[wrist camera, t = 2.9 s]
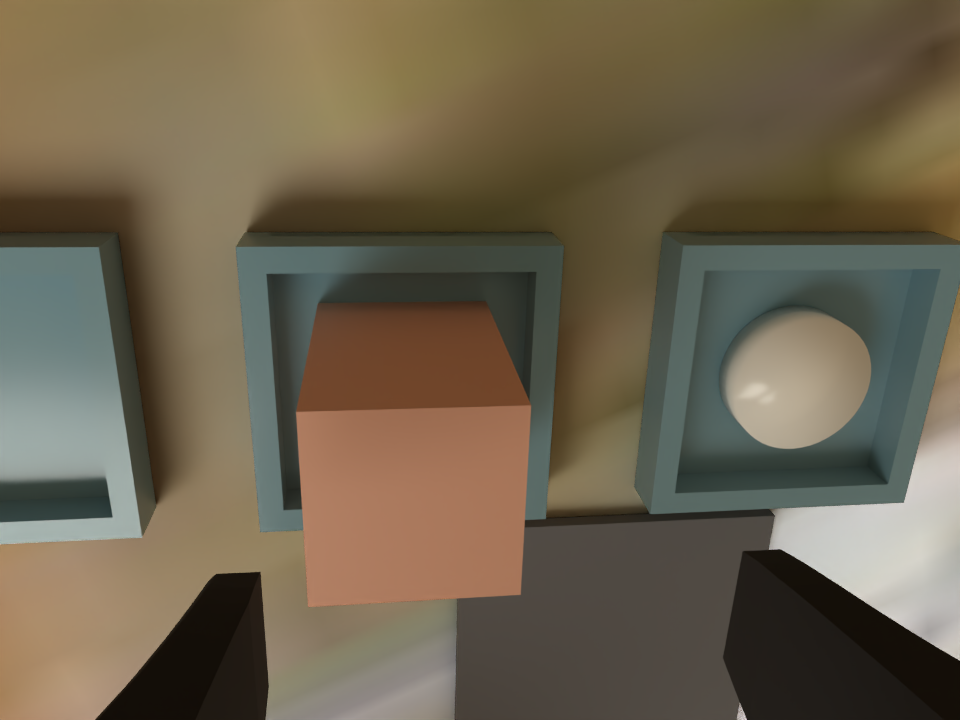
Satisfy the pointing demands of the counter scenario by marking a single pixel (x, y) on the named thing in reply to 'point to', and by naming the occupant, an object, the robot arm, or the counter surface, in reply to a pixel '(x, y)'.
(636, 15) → the counter surface
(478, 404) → the brown rectangular block
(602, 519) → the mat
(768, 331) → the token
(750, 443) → the dish
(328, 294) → the dish
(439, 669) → the counter surface
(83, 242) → the dish
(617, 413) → the counter surface
